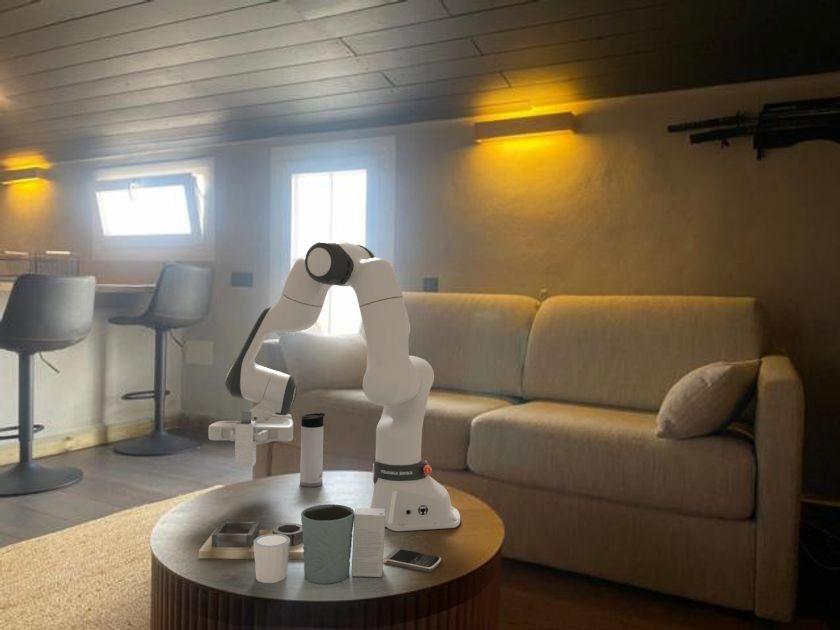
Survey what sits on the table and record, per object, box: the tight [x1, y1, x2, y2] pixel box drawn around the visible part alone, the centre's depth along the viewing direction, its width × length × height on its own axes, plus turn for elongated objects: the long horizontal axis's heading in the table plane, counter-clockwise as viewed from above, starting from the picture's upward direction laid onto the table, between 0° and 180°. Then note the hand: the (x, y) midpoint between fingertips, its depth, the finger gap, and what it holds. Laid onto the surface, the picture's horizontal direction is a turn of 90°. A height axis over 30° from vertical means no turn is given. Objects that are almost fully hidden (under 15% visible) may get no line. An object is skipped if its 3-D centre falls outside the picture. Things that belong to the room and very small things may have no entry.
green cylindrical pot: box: [300, 503, 355, 585], centre depth 123 cm, size 10×10×12 cm
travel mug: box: [299, 412, 326, 488], centre depth 181 cm, size 6×7×20 cm
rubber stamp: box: [234, 410, 257, 468], centre depth 150 cm, size 4×4×12 cm
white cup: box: [253, 534, 290, 584], centre depth 122 cm, size 7×7×7 cm
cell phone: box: [383, 548, 442, 573], centre depth 130 cm, size 6×11×1 cm, turn 67°
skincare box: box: [350, 507, 386, 578], centre depth 124 cm, size 6×4×12 cm
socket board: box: [198, 520, 304, 560], centre depth 135 cm, size 22×12×4 cm, turn 92°
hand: (245, 438), depth 150 cm, fingers closed on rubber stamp, 4 cm apart
